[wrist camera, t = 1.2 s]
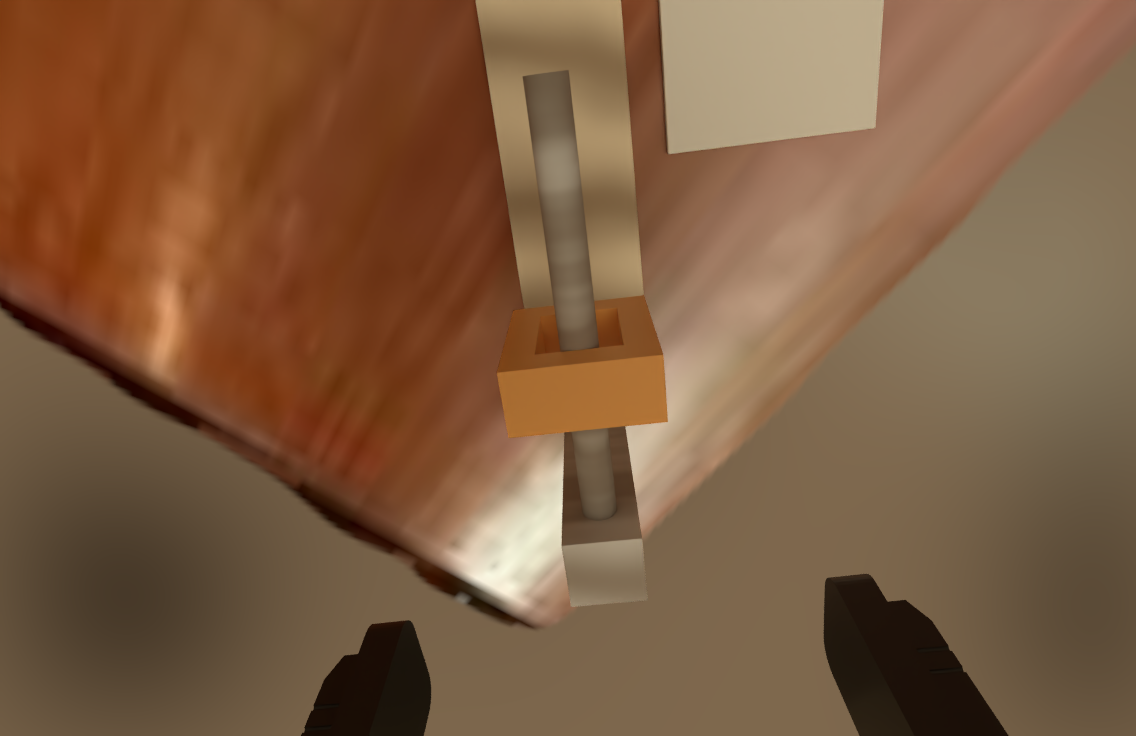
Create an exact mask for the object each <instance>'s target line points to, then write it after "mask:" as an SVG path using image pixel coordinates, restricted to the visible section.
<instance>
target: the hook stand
mask: <svg viewBox="0 0 1136 736" xmlns="http://www.w3.org/2000/svg"><path fill="white" fill-rule="evenodd" d="M476 7H477V13H478V19H479V26H480V32H481V38H482V45H483V51H484V57H485V64H486V70H487V76H488V83H489V89H490V95H491V102H492V108H493V114H494V121H495V127H496V133H497V140H498V146H499V153H500V159H501V165H502V172H503V178H504V184H505V191H506V197H507V203H508V210H509V216H510V222H511V229H512V235H513V241H514V248H515V254H516V260H517V267H518V273H519V279H520V286H521V292H522V299H523V305H524V309H527V308H536V307H545V306H554V309H555V316H556V324H557V331H558V338H559V345H560V352H564V351H574V350H583V349H592V348H599V340H598V331H597V322H596V312H595V303H594V301H598V300H607V299H615V298H624V297H633V296H642V295H644V293H643V280H642V268H641V255H640V242H639V229H638V216H637V203H636V190H635V177H634V164H633V151H632V138H631V126H630V113H629V100H628V87H627V74H626V61H625V48H624V35H623V22H622V9H621V0H476ZM562 551H563V558H564V564H565V570H566V577H567V583H568V590H569V596H570V602H571V607H574V606H586V605H597V604H608V603H620V602H632V601H643V600H648V598H647V588H646V578H645V567H644V556H643V545H642V536H641V529H640V522H639V516H638V509H637V502H636V496H635V489H634V482H633V476H632V469H631V462H630V455H629V449H628V442H627V435H626V429H625V426H622V427H612V428H602V429H593V430H583V431H573V432H565V438H564V475H563V513H562Z"/></svg>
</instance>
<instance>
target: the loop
mask: <svg viewBox="0 0 1136 736" xmlns="http://www.w3.org/2000/svg"><path fill="white" fill-rule="evenodd" d="M594 303H595V312H596V322H597V331H598V340H599V348H592V349H583V350H574V351H564V352H560V345H559V338H558V331H557V324H556V316H555V309H554V306H545V307H536V308H527V309H519V310H513V314H512V317H511V321H510V325H509V329H508V332H507V336H506V340H505V344H504V347H503V351H502V355H501V358H500V362H499V366H498V370H497V377H498V383H499V388H500V394H501V399H502V404H503V410H504V415H505V421H506V426H507V432H508V437H509V438H514V437H524V436H534V435H544V434H553V433H563V432H573V431H583V430H593V429H602V428H612V427H622V426H632V425H641V424H651V423H661V422H668V418H667V403H666V388H665V373H664V358H663V352H662V349H661V346H660V343H659V340H658V337H657V334H656V331H655V328H654V325H653V322H652V319H651V316H650V313H649V310H648V307H647V304H646V300H645V297H644V295H642V296H633V297H624V298H615V299H607V300H598V301H594Z"/></svg>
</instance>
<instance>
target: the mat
mask: <svg viewBox="0 0 1136 736" xmlns="http://www.w3.org/2000/svg"><path fill="white" fill-rule="evenodd" d="M658 1H659V19H660V36H661V54H662V71H663V89H664V107H665V124H666V142H667V153H668V154H674V153H681V152H689V151H697V150H705V149H713V148H721V147H729V146H737V145H745V144H753V143H761V142H769V141H777V140H784V139H792V138H800V137H808V136H816V135H824V134H832V133H840V132H848V131H856V130H864V129H872V128H875V124H876V109H877V94H878V79H879V64H880V50H881V35H882V20H883V5H884V0H658Z"/></svg>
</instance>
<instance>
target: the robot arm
mask: <svg viewBox="0 0 1136 736" xmlns="http://www.w3.org/2000/svg"><path fill="white" fill-rule="evenodd" d="M824 601H825V602H824V603H825V604H824V645H825V651H826V656H827V660H828V663H829V666H830V669H831V672H832V674H833V677H834V679H835V681H836V683H837V686H838V688H839V690H840V692H841V695H842V697H843V699H844V702H845V704H846V706H847V708H848V711H849V713H850V715H851V717H852V720H853V722H854V724H855V726H856V729H857V731H858V733H859V736H1008V734H1007V733H1006V731H1005V730H1004V728H1003V727H1002V725H1001V724H1000V722H999V721H998V719H997V718H996V716H995V715H994V713H993V712H992V710H991V709H990V707H989V706H988V704H987V703H986V701H985V700H984V698H983V697H982V695H981V694H980V692H979V691H978V689H977V688H976V686H975V685H974V683H973V682H972V680H971V679H970V677H969V676H968V674H967V673H966V672H963V668H962V665H961V664H960V663H959V661H958V660H957V658H956V656H955V655H954V653H953V652H952V651H950V650H949V647H948V644H947V643H946V642H945V640H944V639H943V637H942V636H941V634H940V633H939V631H938V629H937V628H936V627H935V625H934V624H933V622H932V621H931V620H930V619H929V618H928V617H926V616H925V615H924V614H923V613H921V612H920V611H919V610H917V609H916V608H915V607H913V606H912V605H911V604H910V603H908V602H907V601H906V600H900V601H891V602H887V600H886V599H885V597H884V595H883V594H882V592H881V591H880V589H879V587H878V586H877V584H876V582H875V581H874V579H873V578H872V577H871V576H870V575H869V574H860V575H850V576H841V577H831V578H827V579H826V582H825V600H824ZM430 704H431V682H430V677H429V672H428V669H427V666H426V663H425V659H424V656H423V653H422V650H421V647H420V644H419V641H418V638H417V634H416V631H415V628H414V626H413V624H412V622H411V621H409V620H408V621H398V622H388V623H379V624H372V625H371V626H370V627H369V628H368V630H367V632H366V635H365V637H364V640H363V643H362V645H361V648H360V651H359V653H358V654H355V655H345V656H344V657H343V658H342V659H341V660H340V662H339V663H338V664H337V665H336V666H335V668H334V669H333V670H332V671H331V672H330V674H329V675H328V676H327V677H326V678H325V680H324V682H323V684H322V687H321V689H320V691H319V694H318V696H317V699H316V701H315V703H314V710H313V711H311V713H310V715H309V718H308V720H307V723H306V725H305V732H304V733H302V735H301V736H424V732H425V728H426V723H427V719H428V715H429V710H430Z"/></svg>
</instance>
